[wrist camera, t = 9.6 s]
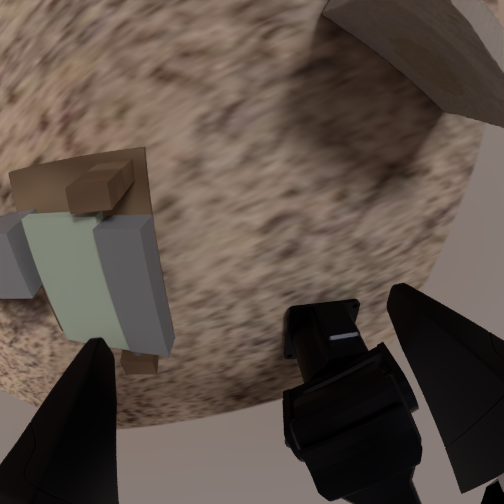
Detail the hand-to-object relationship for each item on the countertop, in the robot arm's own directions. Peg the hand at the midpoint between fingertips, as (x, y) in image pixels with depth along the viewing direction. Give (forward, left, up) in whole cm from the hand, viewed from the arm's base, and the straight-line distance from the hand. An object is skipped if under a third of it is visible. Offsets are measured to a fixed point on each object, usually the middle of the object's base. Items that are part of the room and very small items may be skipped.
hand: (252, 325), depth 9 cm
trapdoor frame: (-4, +10, -13) cm, 17 cm away
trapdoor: (-4, +9, -9) cm, 13 cm away
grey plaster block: (+11, -12, -13) cm, 20 cm away
